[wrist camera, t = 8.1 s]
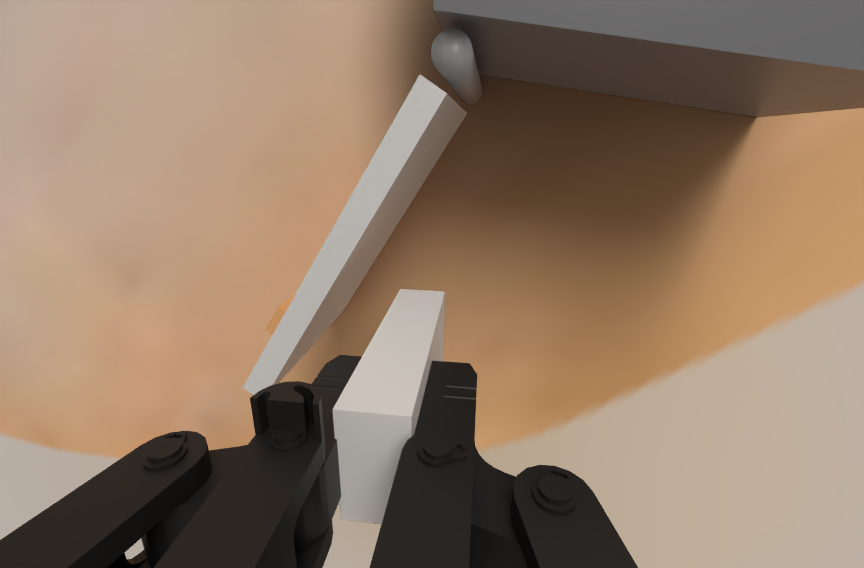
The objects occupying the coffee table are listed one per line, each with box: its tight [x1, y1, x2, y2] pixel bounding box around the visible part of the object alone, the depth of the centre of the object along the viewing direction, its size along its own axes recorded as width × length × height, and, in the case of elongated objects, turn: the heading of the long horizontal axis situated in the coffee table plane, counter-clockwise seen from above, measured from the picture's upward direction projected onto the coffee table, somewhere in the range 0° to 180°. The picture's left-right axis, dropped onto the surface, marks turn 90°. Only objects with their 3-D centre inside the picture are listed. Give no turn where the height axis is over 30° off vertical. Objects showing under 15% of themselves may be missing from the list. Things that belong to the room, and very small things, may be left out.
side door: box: [243, 29, 483, 395], centre depth 16 cm, size 12×2×8 cm, turn 147°
